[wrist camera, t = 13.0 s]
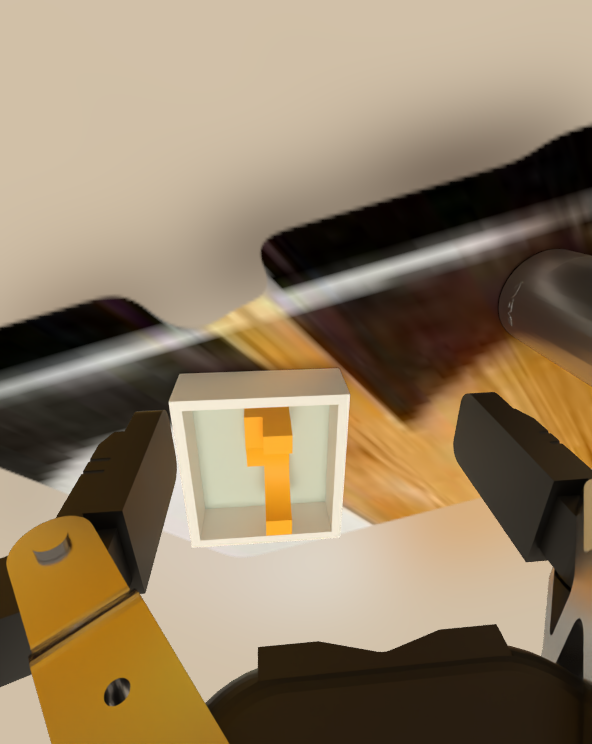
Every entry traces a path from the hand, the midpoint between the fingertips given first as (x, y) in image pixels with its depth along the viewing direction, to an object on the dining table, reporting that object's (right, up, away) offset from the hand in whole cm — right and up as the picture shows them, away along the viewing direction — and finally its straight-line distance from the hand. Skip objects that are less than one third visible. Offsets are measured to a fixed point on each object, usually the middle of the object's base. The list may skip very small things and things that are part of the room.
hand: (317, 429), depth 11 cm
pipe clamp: (-4, -7, +33) cm, 34 cm away
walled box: (-4, -6, +34) cm, 34 cm away
